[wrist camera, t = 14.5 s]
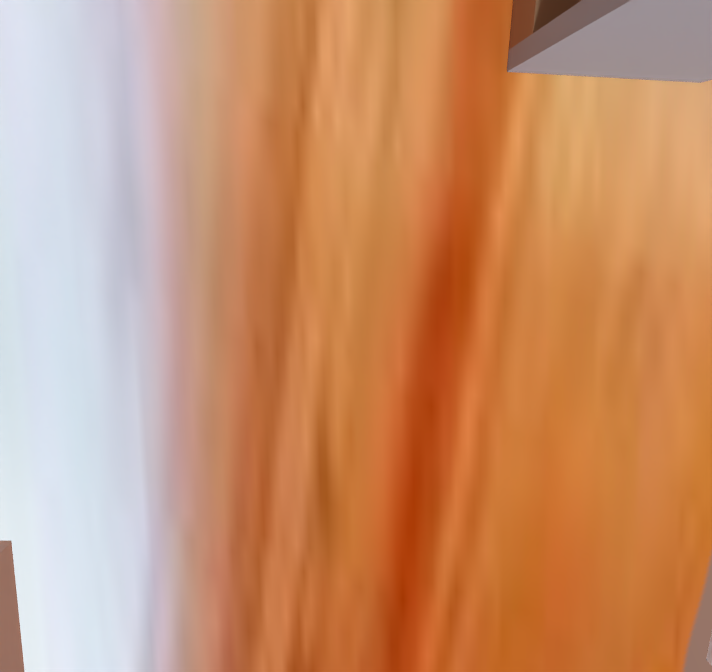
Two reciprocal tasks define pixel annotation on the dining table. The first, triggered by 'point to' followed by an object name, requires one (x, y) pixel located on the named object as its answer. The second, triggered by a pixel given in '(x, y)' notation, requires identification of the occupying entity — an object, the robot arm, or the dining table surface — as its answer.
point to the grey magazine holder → (613, 38)
